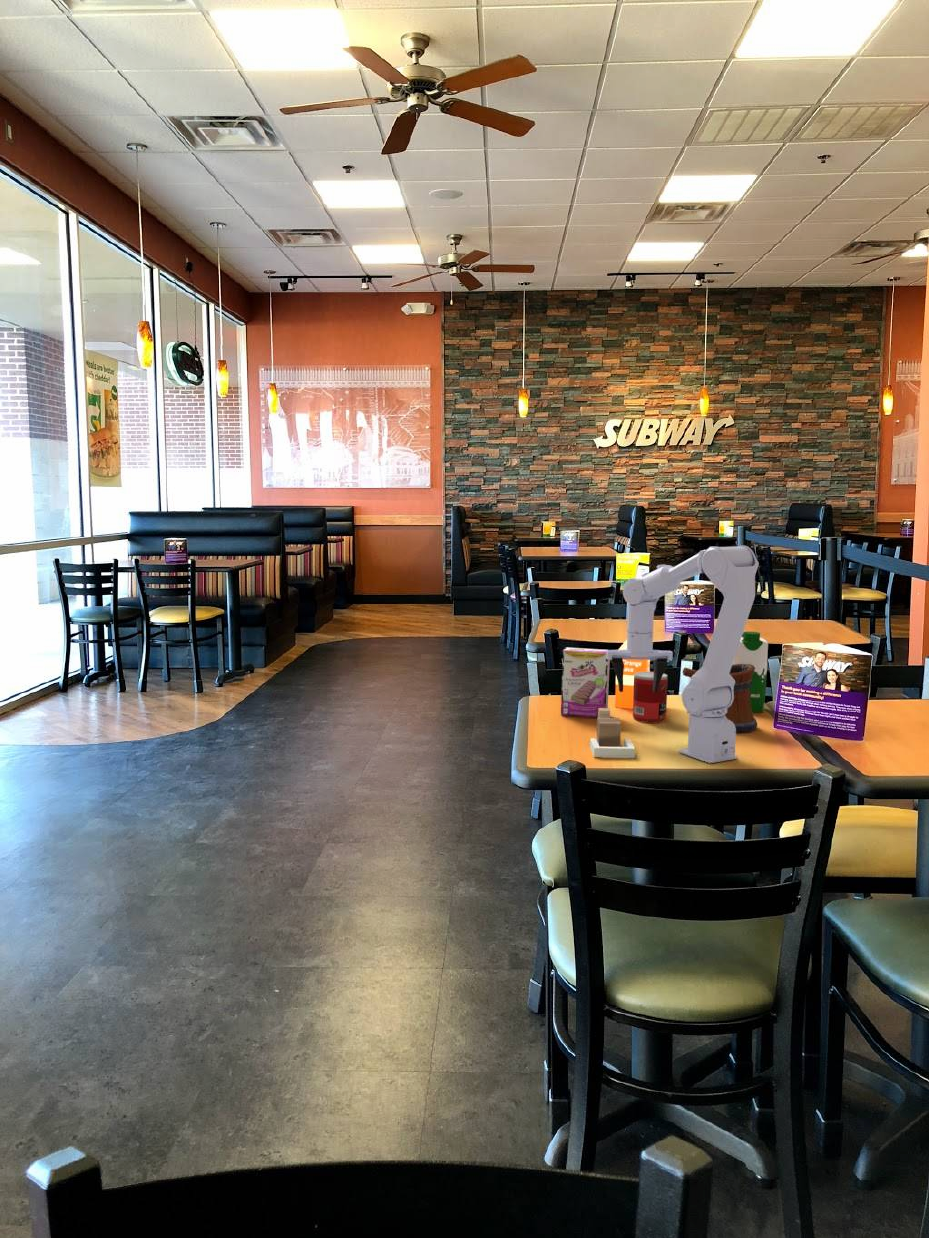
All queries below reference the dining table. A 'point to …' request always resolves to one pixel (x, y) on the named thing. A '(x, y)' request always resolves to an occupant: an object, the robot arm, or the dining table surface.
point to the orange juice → (629, 680)
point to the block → (608, 729)
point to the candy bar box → (584, 682)
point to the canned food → (649, 698)
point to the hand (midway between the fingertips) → (638, 691)
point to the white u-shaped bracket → (612, 750)
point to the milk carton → (755, 654)
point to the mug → (738, 697)
